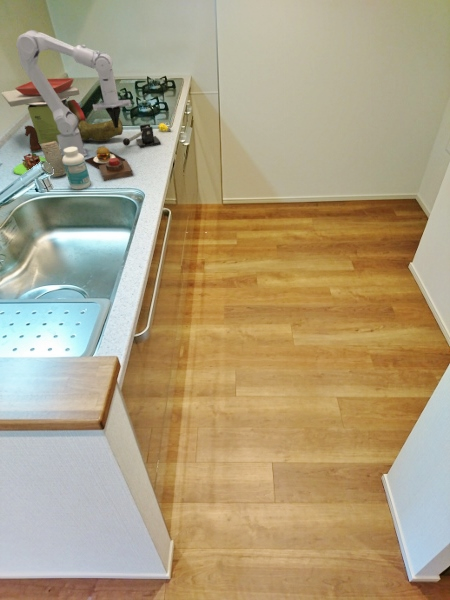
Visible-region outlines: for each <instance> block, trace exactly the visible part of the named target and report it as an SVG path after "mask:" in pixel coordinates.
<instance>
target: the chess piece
mask: <svg viewBox="0 0 450 600" xmlns="http://www.w3.org/2000/svg"><path fill="white" fill-rule="evenodd" d="M24 129H25V133H24V135H25V137H29V139H28V140H29V147H30V148H29V149H30V152H31V153H35V152H39V151H42V148H41V144H39V141H38V136H37V132H36V130H35V128H34V126H33V125H25V126H24Z"/></svg>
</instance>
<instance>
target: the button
mask: <svg viewBox="0 0 450 600" xmlns="http://www.w3.org/2000/svg"><path fill="white" fill-rule="evenodd" d="M118 164H119V160H118V158H111V159H109V165H111V166H114V165H118Z"/></svg>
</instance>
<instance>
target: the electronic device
mask: <svg viewBox="0 0 450 600" xmlns="http://www.w3.org/2000/svg"><path fill="white" fill-rule="evenodd" d="M0 93H1V96H2V97H3V98H4V99H5V101H6V102H7V104H8V105H9V106H10V107H18V106H24V105H25V104H30V103H36V102H42V101H45V100H44V99H43V98H42V96H41V95H23V94H22V93H20V92H19V91H18V90H16V89H13V90H8V91H1V92H0ZM80 94H81V93H80V90H79V88H77V87H76V86H74V85H71V86H70V87H69V88H67V89H65V90H63V91H61V92H59V93H57V95H58V97H59V98H64V97H69V98H70V97H74V96H79V95H80ZM25 106H26V105H25Z"/></svg>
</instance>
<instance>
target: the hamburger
mask: <svg viewBox="0 0 450 600" xmlns="http://www.w3.org/2000/svg"><path fill="white" fill-rule="evenodd" d="M111 158H118V160H121V161H126V159H125V158H124V157H122V156H119V154H115V153H114V152H112V151H110V149H109V148H107V147H105V146H100V147H98V148H97V149H96V155H95V156H92V157H89V158H86V159H85V158H84V159H85V163H86V164H89V165H91V166H92V167H94V168H96V169H98V170H99V171H100V169H99V165H104V164H106V162H108V161H109V159H111Z"/></svg>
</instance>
